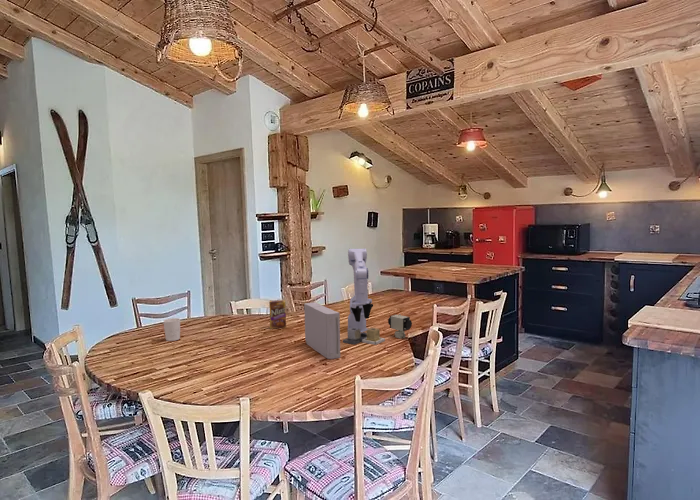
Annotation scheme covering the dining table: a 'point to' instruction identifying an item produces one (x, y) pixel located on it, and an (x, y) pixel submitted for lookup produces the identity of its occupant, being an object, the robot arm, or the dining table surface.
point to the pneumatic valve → (400, 324)
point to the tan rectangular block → (373, 334)
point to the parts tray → (373, 341)
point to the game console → (322, 330)
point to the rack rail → (363, 336)
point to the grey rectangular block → (354, 334)
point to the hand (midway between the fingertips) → (362, 319)
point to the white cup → (172, 329)
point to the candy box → (277, 314)
